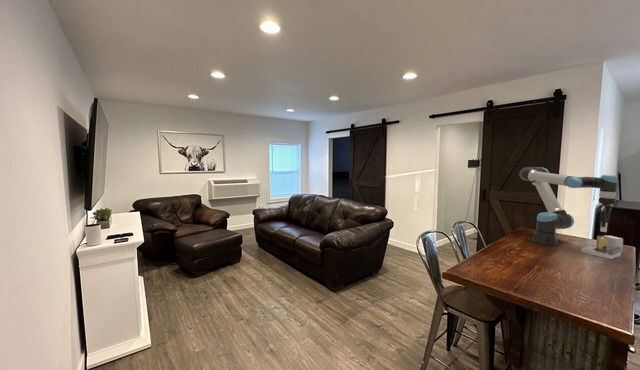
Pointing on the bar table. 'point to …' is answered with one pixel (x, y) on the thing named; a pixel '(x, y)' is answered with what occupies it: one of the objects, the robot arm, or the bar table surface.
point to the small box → (614, 242)
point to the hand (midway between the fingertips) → (603, 231)
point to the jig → (608, 254)
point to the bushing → (601, 243)
